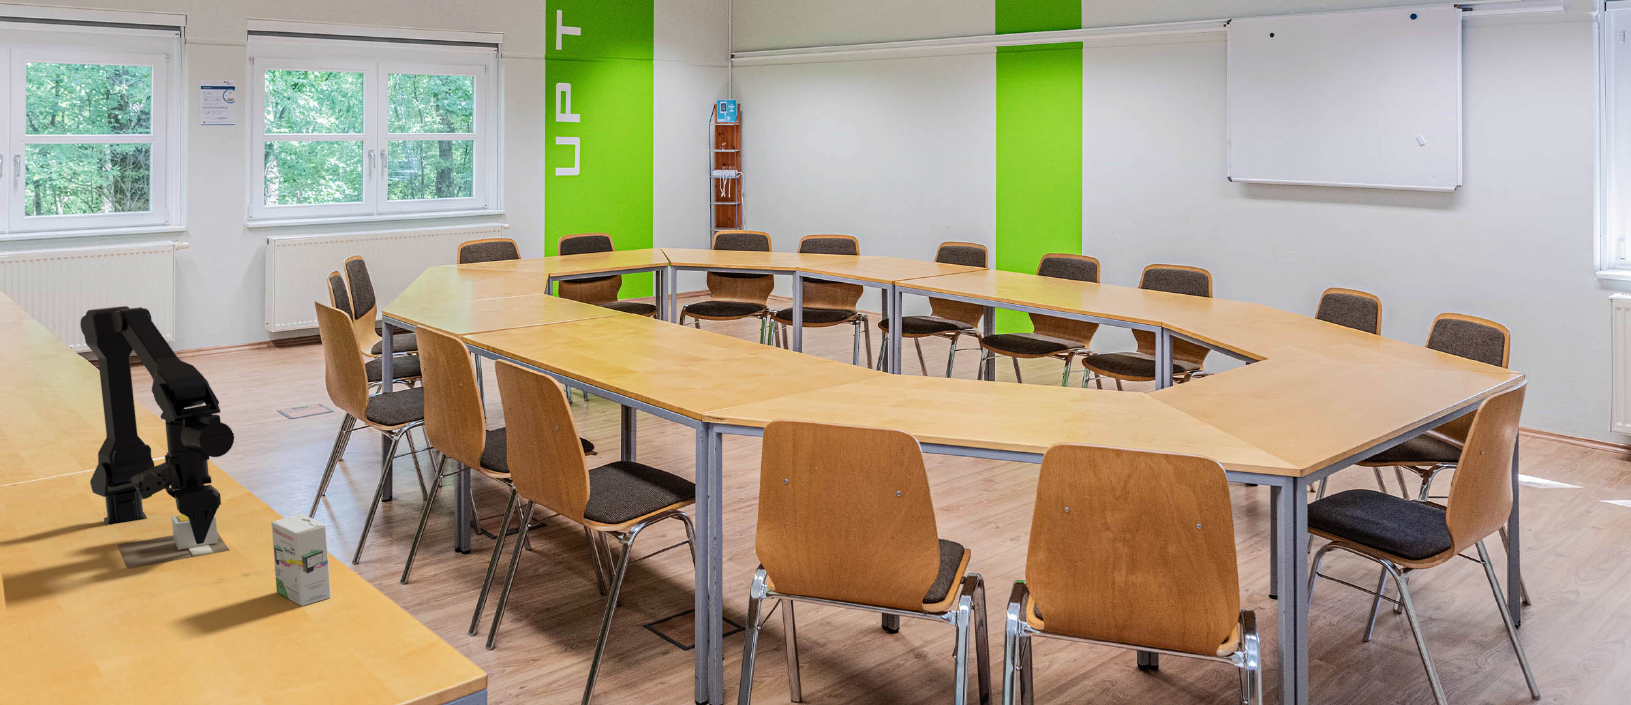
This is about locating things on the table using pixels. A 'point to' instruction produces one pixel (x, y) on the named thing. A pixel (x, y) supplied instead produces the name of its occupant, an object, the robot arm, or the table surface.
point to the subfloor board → (163, 551)
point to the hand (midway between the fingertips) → (195, 536)
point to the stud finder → (190, 533)
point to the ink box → (301, 559)
